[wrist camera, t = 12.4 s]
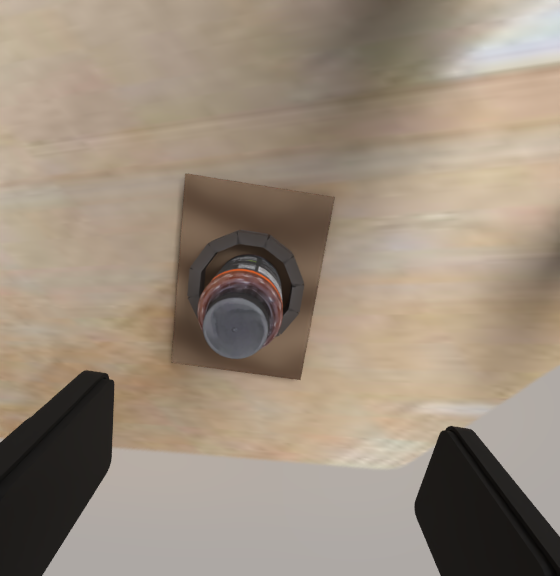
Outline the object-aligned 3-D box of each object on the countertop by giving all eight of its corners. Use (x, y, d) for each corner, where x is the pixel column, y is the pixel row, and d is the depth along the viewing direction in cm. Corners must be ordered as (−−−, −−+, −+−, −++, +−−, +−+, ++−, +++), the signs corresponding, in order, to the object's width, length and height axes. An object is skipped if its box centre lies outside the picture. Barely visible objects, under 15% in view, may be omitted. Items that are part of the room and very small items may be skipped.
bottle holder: (189, 174, 29) (178, 171, 26) (332, 197, 30) (338, 196, 27) (175, 356, 34) (164, 372, 31) (299, 373, 34) (301, 390, 31)
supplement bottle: (234, 323, 31) (210, 388, 21) (206, 267, 30) (165, 305, 19) (291, 300, 31) (298, 354, 20) (266, 241, 29) (258, 265, 19)
